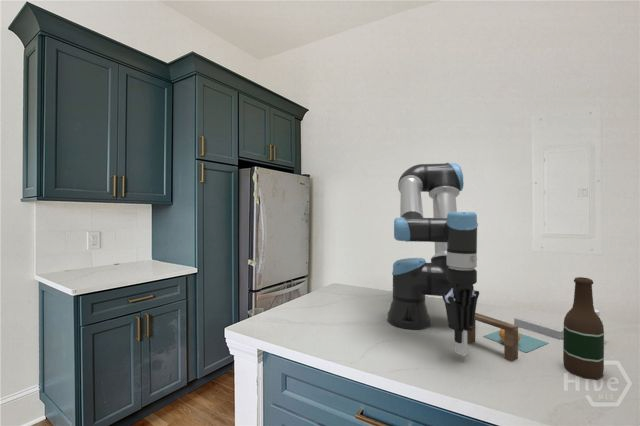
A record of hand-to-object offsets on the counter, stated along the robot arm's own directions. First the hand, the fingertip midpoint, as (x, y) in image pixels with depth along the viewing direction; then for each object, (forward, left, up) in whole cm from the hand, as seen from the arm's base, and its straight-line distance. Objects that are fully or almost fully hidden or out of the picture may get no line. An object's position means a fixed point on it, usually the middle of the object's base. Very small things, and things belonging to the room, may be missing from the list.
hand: (461, 353), depth 82 cm
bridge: (0, +13, -2) cm, 13 cm away
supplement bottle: (+12, +48, -2) cm, 50 cm away
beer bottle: (+19, +22, -2) cm, 29 cm away
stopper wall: (0, +41, -2) cm, 41 cm away
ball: (+1, +22, +1) cm, 22 cm away
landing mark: (0, +27, -2) cm, 27 cm away
